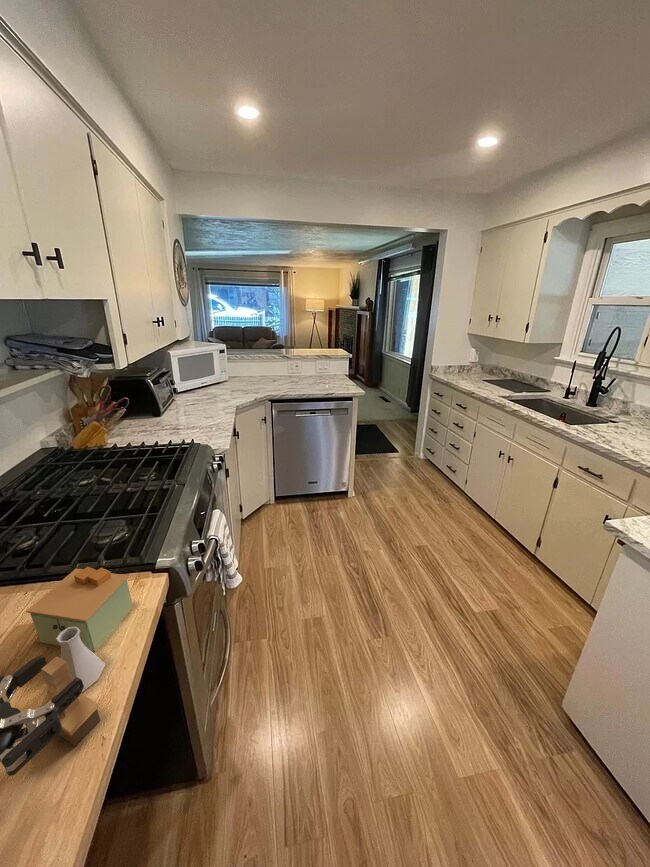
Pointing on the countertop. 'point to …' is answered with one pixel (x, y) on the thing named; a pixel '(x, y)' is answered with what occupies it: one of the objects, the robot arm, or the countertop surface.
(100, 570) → the block
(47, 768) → the countertop surface
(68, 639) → the flask
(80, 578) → the crust
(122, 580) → the cabinet
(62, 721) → the brush
